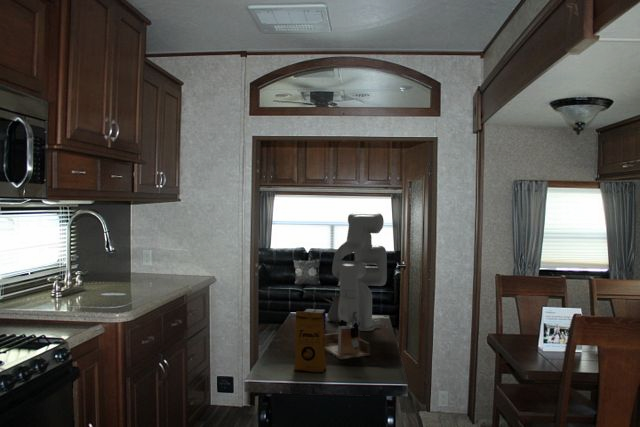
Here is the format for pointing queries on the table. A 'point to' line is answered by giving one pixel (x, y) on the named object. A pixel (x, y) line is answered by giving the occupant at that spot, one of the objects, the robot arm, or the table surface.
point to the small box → (347, 341)
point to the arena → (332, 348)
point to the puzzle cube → (319, 312)
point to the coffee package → (310, 342)
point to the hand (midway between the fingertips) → (348, 334)
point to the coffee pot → (332, 308)
